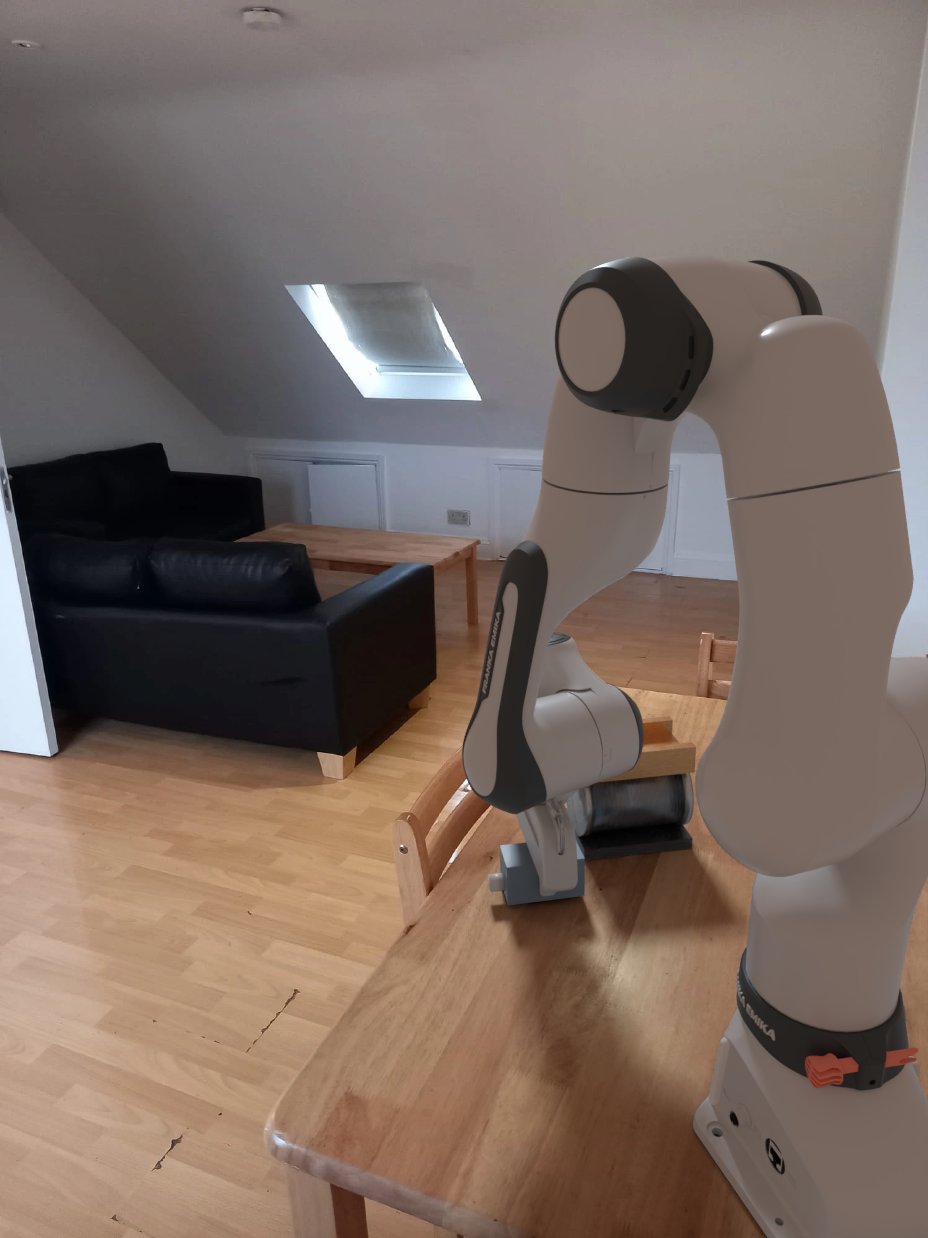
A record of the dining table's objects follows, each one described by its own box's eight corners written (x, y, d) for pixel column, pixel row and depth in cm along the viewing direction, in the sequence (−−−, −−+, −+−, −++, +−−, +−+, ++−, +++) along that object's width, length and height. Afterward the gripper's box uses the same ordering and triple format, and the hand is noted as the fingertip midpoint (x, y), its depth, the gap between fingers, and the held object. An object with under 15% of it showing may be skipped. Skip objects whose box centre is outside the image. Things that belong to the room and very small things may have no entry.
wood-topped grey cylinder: (691, 848, 108) (698, 749, 103) (584, 860, 106) (585, 760, 101) (663, 807, 117) (667, 714, 112) (563, 817, 115) (564, 724, 111)
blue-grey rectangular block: (584, 895, 98) (584, 858, 97) (493, 907, 97) (491, 869, 95) (574, 873, 102) (574, 836, 101) (486, 883, 101) (485, 847, 100)
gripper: (593, 816, 85) (592, 931, 90) (546, 729, 105) (547, 827, 109) (531, 823, 85) (533, 938, 89) (495, 734, 104) (499, 832, 108)
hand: (540, 876), depth 99 cm, fingers closed on blue-grey rectangular block, 4 cm apart
